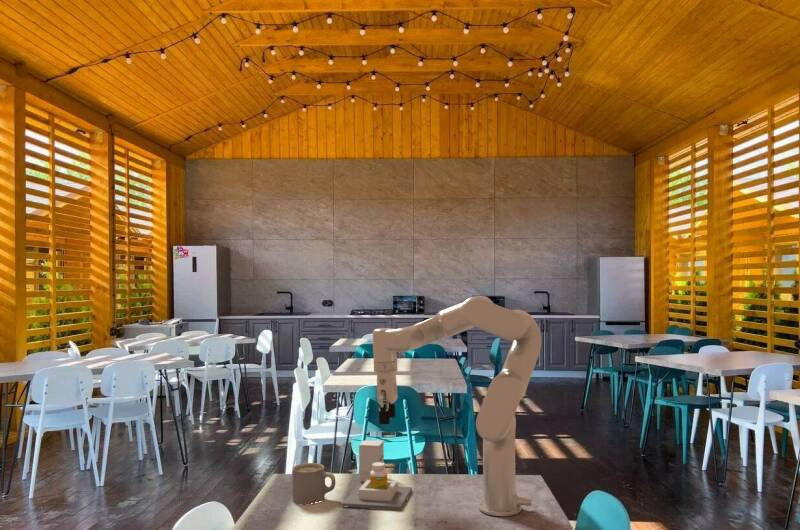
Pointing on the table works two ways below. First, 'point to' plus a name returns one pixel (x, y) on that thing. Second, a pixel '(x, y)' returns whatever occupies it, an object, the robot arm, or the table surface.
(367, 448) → the supplement box
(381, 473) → the supplement bottle
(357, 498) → the collar board
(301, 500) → the coffee mug
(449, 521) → the table surface
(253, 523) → the table surface
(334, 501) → the table surface
